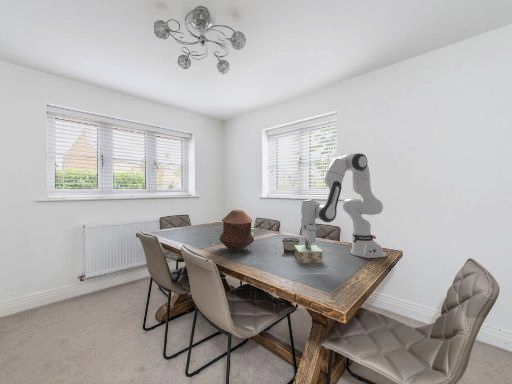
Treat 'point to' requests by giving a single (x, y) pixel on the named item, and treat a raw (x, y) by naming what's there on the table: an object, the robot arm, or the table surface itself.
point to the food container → (290, 244)
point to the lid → (308, 250)
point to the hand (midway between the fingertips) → (308, 246)
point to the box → (308, 257)
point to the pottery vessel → (236, 231)
